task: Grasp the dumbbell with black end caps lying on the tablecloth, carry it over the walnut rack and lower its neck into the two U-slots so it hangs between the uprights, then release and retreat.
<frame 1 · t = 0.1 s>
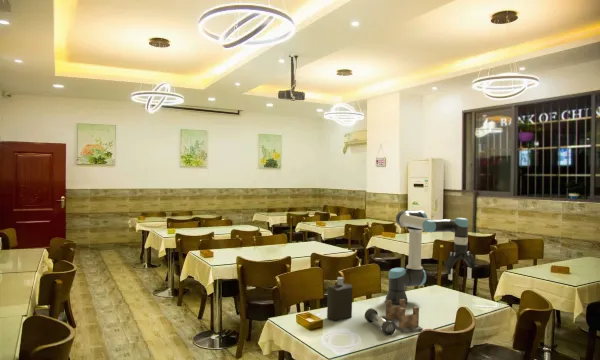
hand: (459, 279, 253), 28 cm above the table, fingers open, 13 cm apart
dumbbell: (379, 321, 246), point 4 cm above the table
rack: (401, 324, 253), on the table
bottle: (339, 318, 262), on the table
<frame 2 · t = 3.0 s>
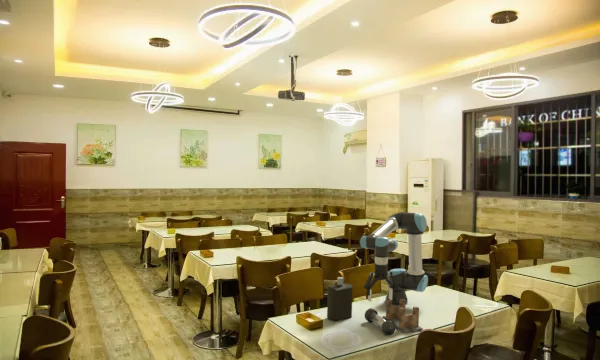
hand: (380, 300, 245), 17 cm above the table, fingers open, 13 cm apart
nothing on the table moved.
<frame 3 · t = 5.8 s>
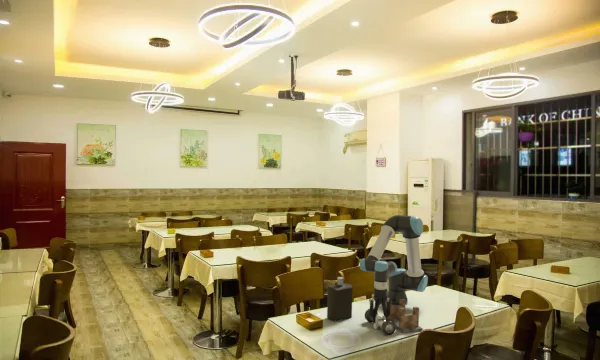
hand: (379, 327, 246), 0 cm above the table, fingers closed on dumbbell, 5 cm apart
dumbbell: (379, 321, 246), point 4 cm above the table, touching gripper
everything else where it was.
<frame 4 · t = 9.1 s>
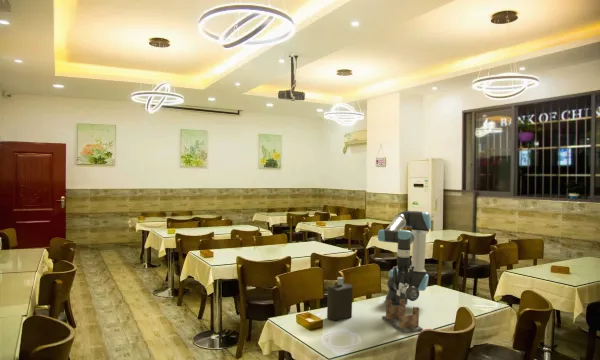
hand: (402, 294, 252), 18 cm above the table, fingers closed on dumbbell, 5 cm apart
dumbbell: (402, 288, 252), point 22 cm above the table, touching gripper
everything else where it was.
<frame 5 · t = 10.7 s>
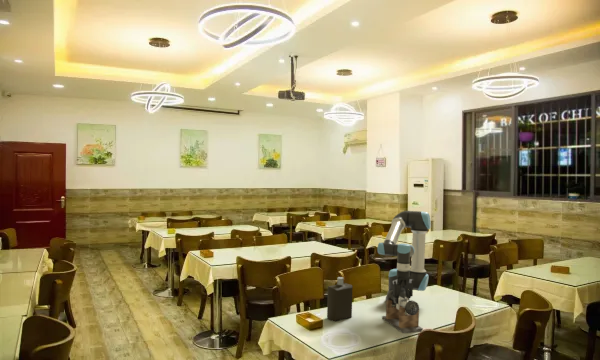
hand: (402, 308, 252), 10 cm above the table, fingers closed on dumbbell, 5 cm apart
dumbbell: (402, 302, 253), point 13 cm above the table, touching gripper
everything else where it was.
when the fingers open (8 cm above the table, at t = 12.1 s): dumbbell stays where it is, resting on rack.
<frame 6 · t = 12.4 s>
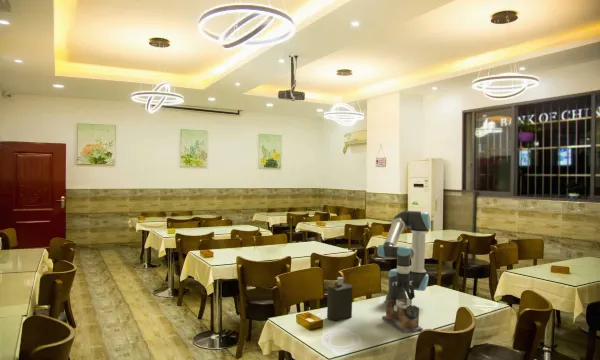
hand: (402, 310, 253), 9 cm above the table, fingers open, 8 cm apart
dumbbell: (402, 306, 253), point 11 cm above the table, touching rack
everything else where it was.
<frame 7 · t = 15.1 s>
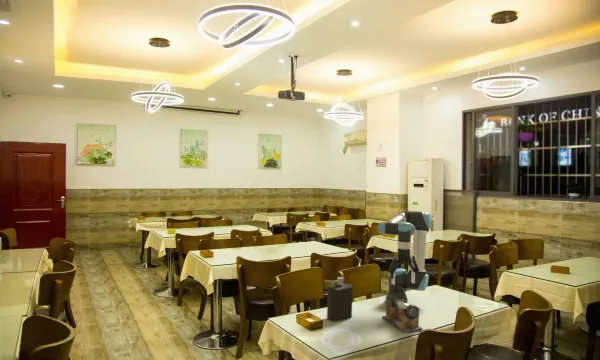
hand: (403, 283, 253), 25 cm above the table, fingers open, 13 cm apart
nothing on the table moved.
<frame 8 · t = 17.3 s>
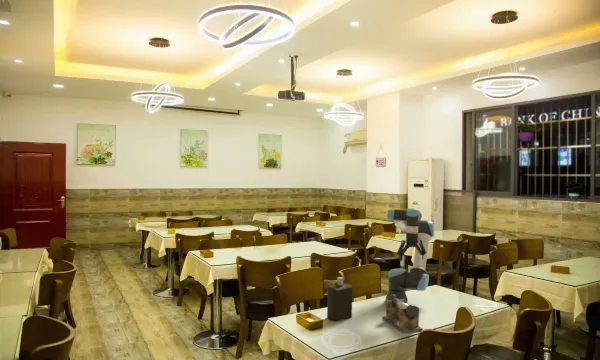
hand: (411, 265, 271), 32 cm above the table, fingers open, 13 cm apart
nothing on the table moved.
at the end: dumbbell 0.2 cm off-centre on the rack, point 11.0 cm above the rack's base; dumbbell tilted 2°; the gripper is holding nothing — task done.
